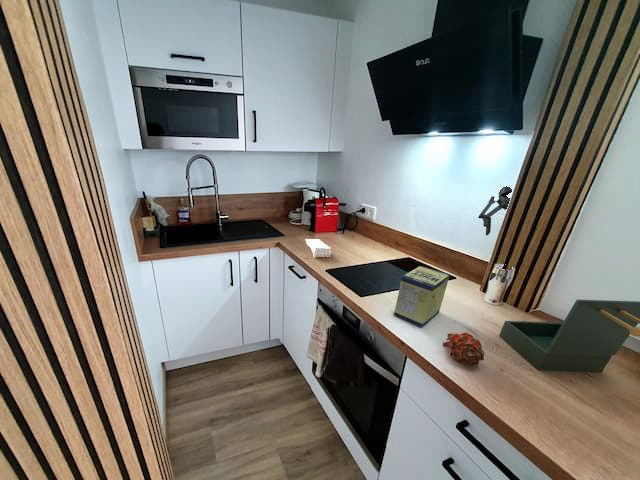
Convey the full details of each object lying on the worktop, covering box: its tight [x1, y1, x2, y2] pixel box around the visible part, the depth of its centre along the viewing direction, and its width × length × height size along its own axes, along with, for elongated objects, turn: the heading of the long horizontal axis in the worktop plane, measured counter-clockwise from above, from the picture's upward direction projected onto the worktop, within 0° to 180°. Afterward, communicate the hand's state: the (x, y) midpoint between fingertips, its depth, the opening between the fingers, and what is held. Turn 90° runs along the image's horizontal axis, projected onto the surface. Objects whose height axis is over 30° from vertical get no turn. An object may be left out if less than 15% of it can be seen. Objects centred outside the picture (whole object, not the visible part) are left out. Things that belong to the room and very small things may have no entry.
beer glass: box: [482, 263, 516, 306], centre depth 111 cm, size 7×7×15 cm
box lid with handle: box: [547, 299, 640, 356], centre depth 68 cm, size 16×18×10 cm
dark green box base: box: [498, 320, 613, 373], centre depth 84 cm, size 16×18×6 cm
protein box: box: [393, 265, 451, 328], centre depth 100 cm, size 10×16×16 cm
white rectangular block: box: [305, 238, 332, 258], centre depth 165 cm, size 10×7×28 cm
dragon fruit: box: [442, 331, 485, 367], centre depth 81 cm, size 8×8×12 cm
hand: (509, 235), depth 108 cm, fingers open, 13 cm apart
